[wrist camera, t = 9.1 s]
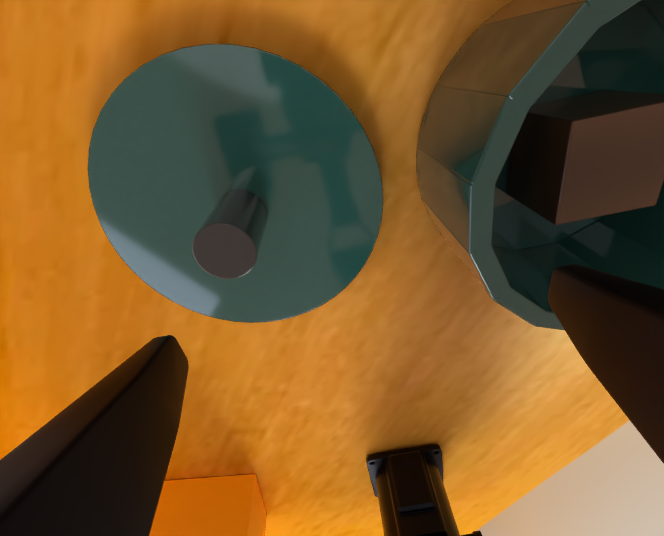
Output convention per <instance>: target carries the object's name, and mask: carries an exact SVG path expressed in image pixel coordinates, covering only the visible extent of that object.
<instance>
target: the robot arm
mask: <svg viewBox="0 0 664 536" xmlns="http://www.w3.org/2000/svg"><path fill="white" fill-rule="evenodd" d="M548 302H549V305H550V307H551V309H552V310H553V312H554V313H555V315H556V317H557V318H558V320H559V321H560V323H561V325H562V326H563V328H564V329H565V331H566V333H567V334H568V336H569V338H570V339H571V341H572V342H573V344H574V346H575V347H576V349H577V350H578V352H579V354H580V355H581V357H582V358H583V359H584V361H585V362H586V364H587V365H588V367H589V368H590V369H591V371H592V372H593V373H594V375H595V376H596V377H597V378H598V380H599V381H600V382H601V384H602V385H603V386H604V387H605V389H606V390H607V391H608V393H609V394H610V395H611V396H612V398H613V399H614V400H615V402H616V403H617V404H618V405H619V407H620V408H621V409H622V411H623V412H624V413H625V414H626V416H627V417H628V418H629V420H630V421H631V422H632V423H633V425H634V426H635V427H636V428H637V430H638V431H639V432H640V434H641V435H642V436H643V438H644V439H645V440H646V441H647V443H648V444H649V445H650V447H651V448H652V449H653V450H654V452H655V453H656V454H657V456H658V457H659V458H660V459H661V461H662V462H663V463H664V289H660V288H657V287H653V286H650V285H646V284H643V283H639V282H636V281H632V280H629V279H625V278H622V277H619V276H615V275H612V274H608V273H605V272H601V271H598V270H594V269H591V268H587V267H584V266H580V265H577V264H572V265H566V266H560V267H557V268H555V269H554V271H553V273H552V278H551V283H550V288H549V293H548ZM187 374H188V360H187V357H186V356H185V354H184V352H183V350H182V349H181V347H180V345H179V343H178V341H177V340H176V338H175V337H174V336H171V335H168V336H162V337H157V338H154V339H152V340H151V341H150V342H149V343H147V344H146V345H145V346H143V347H142V348H141V349H140V350H138V351H137V352H136V353H135V354H133V355H132V356H131V357H130V358H128V359H127V360H126V361H125V362H123V363H122V364H121V365H120V366H118V367H117V368H116V369H115V370H113V371H112V372H111V373H109V374H108V375H107V376H106V377H104V378H103V379H102V380H101V381H99V382H98V383H97V384H96V385H94V386H93V387H92V388H91V389H89V390H88V391H87V392H86V393H84V394H83V395H82V396H81V397H79V398H78V399H77V400H75V401H74V402H73V403H72V404H70V405H69V406H68V407H67V408H65V409H64V410H63V411H62V412H60V413H59V414H58V415H57V416H55V417H54V418H53V419H52V420H50V421H49V422H48V423H47V424H45V425H44V426H43V427H41V428H40V429H39V430H38V431H36V432H35V433H34V434H33V435H31V436H30V437H29V438H28V439H26V440H25V441H24V442H23V443H21V444H20V445H19V446H18V447H16V448H15V449H14V450H13V451H11V452H10V453H9V454H7V455H6V456H5V457H4V458H2V459H1V460H0V536H149V535H150V531H151V528H152V524H153V520H154V517H155V513H156V509H157V506H158V502H159V498H160V495H161V491H162V487H163V484H164V480H165V476H166V473H167V469H168V465H169V462H170V458H171V454H172V451H173V447H174V444H175V440H176V436H177V432H178V428H179V423H180V417H181V411H182V405H183V399H184V393H185V387H186V381H187ZM366 462H367V467H368V471H369V474H370V478H371V482H372V486H373V490H374V494H375V496H376V497H378V499H379V505H380V512H381V518H382V524H383V530H384V536H460V535H459V531H458V528H457V525H456V522H455V519H454V516H453V513H452V510H451V507H450V503H449V500H448V497H447V494H446V491H445V488H444V485H443V462H442V450H441V447H440V446H439V445H430V446H424V447H418V448H412V449H406V450H400V451H394V452H388V453H382V454H376V455H371V456H368V457H367V458H366ZM461 536H482V534H481V532H480V531H474V532H473V533H472V534H466V535H461Z"/></svg>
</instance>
